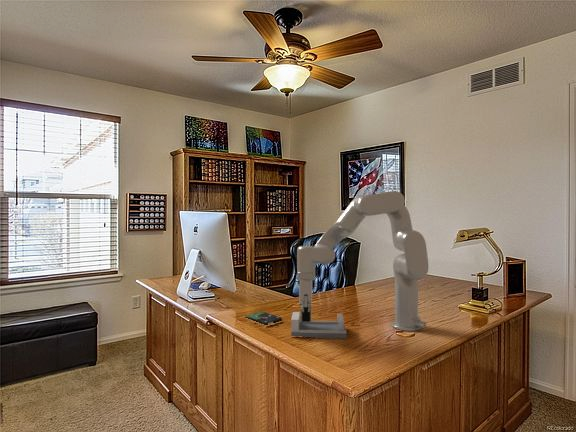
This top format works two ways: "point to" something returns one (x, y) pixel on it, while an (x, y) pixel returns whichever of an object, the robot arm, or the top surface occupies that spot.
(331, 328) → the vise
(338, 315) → the block
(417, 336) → the top surface
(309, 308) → the teal block
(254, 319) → the disk drive
